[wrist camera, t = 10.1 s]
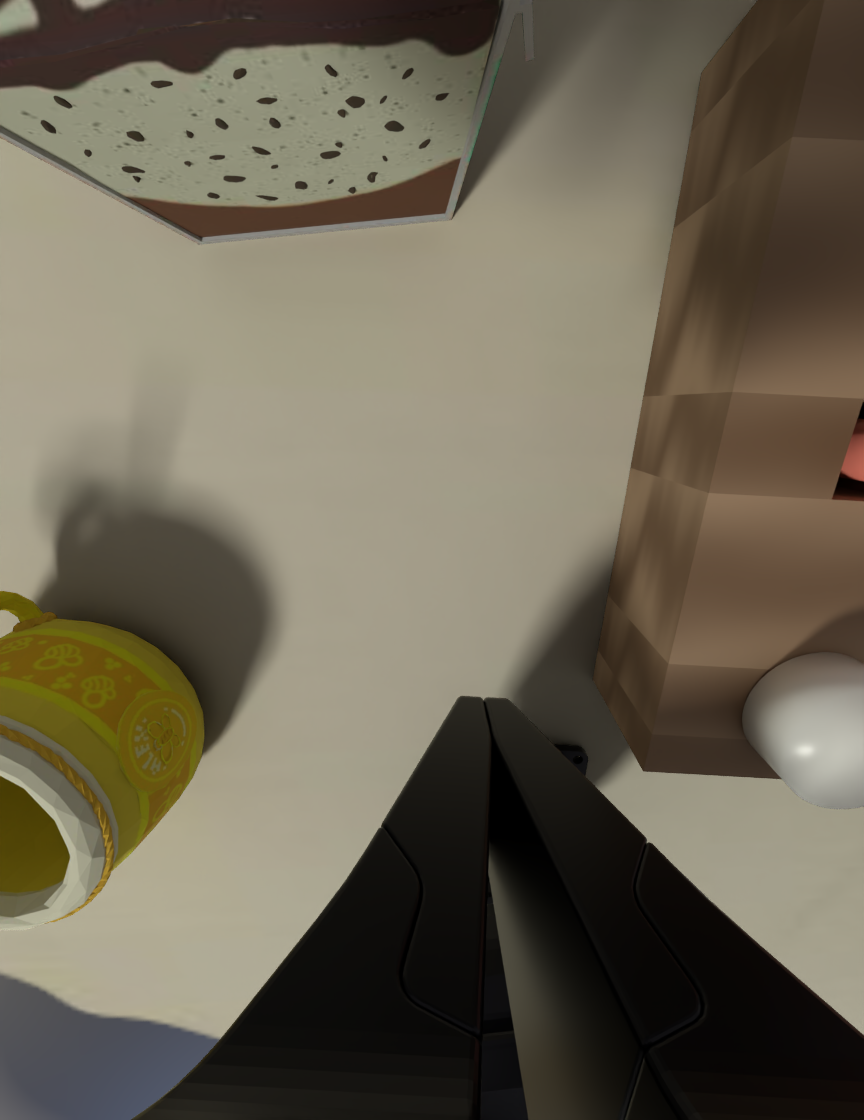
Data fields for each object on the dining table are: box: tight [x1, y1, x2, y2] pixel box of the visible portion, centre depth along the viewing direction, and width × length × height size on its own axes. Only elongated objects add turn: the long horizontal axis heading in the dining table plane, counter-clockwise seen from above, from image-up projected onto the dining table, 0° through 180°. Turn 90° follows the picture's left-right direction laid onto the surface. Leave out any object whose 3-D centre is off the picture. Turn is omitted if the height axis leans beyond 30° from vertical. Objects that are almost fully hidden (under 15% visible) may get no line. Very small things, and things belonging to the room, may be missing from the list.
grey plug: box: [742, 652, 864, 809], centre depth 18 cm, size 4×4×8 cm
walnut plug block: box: [593, 0, 864, 779], centre depth 16 cm, size 23×10×6 cm, turn 177°
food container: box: [0, 0, 534, 245], centre depth 11 cm, size 12×6×10 cm, turn 94°
